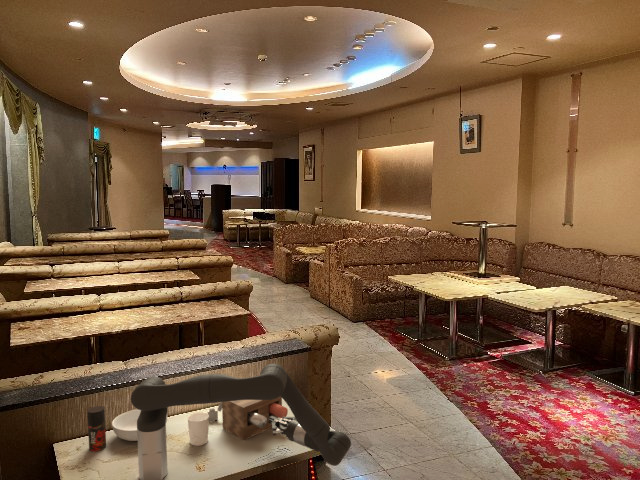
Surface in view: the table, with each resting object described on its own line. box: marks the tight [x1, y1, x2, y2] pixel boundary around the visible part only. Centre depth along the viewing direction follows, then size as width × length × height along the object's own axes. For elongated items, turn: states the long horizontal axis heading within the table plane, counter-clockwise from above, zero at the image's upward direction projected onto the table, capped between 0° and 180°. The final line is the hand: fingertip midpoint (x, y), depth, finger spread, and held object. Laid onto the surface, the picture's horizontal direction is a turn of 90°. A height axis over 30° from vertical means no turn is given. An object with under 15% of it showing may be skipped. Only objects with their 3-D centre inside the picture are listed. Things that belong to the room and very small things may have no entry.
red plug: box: [269, 402, 289, 418], centre depth 200 cm, size 10×4×4 cm, turn 47°
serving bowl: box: [111, 408, 168, 442], centre depth 195 cm, size 21×21×7 cm
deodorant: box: [86, 405, 107, 453], centre depth 185 cm, size 6×6×15 cm
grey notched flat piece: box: [207, 402, 222, 422], centre depth 208 cm, size 7×2×8 cm, turn 106°
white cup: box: [187, 411, 210, 447], centre depth 189 cm, size 8×8×10 cm
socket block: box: [221, 396, 283, 441], centre depth 202 cm, size 14×20×13 cm
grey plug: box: [247, 411, 267, 428], centre depth 192 cm, size 10×4×4 cm, turn 47°
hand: (270, 419), depth 186 cm, fingers closed
